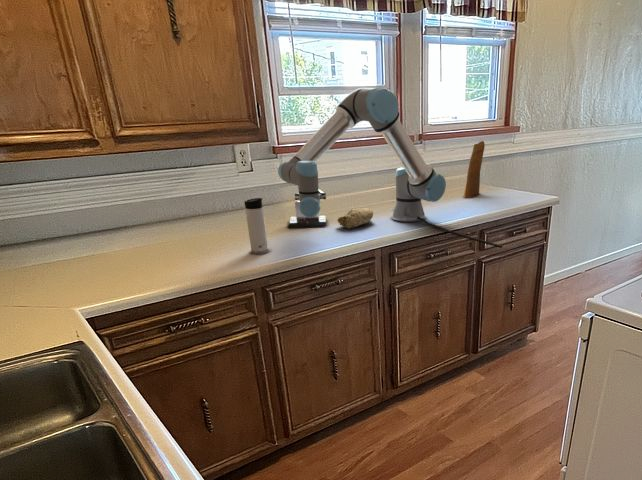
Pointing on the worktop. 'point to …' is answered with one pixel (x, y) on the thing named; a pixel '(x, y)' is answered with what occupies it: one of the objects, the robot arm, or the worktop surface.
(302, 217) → the thin white box
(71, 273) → the worktop surface
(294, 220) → the stove panel
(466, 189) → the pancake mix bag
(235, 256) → the worktop surface
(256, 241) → the travel mug
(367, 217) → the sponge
